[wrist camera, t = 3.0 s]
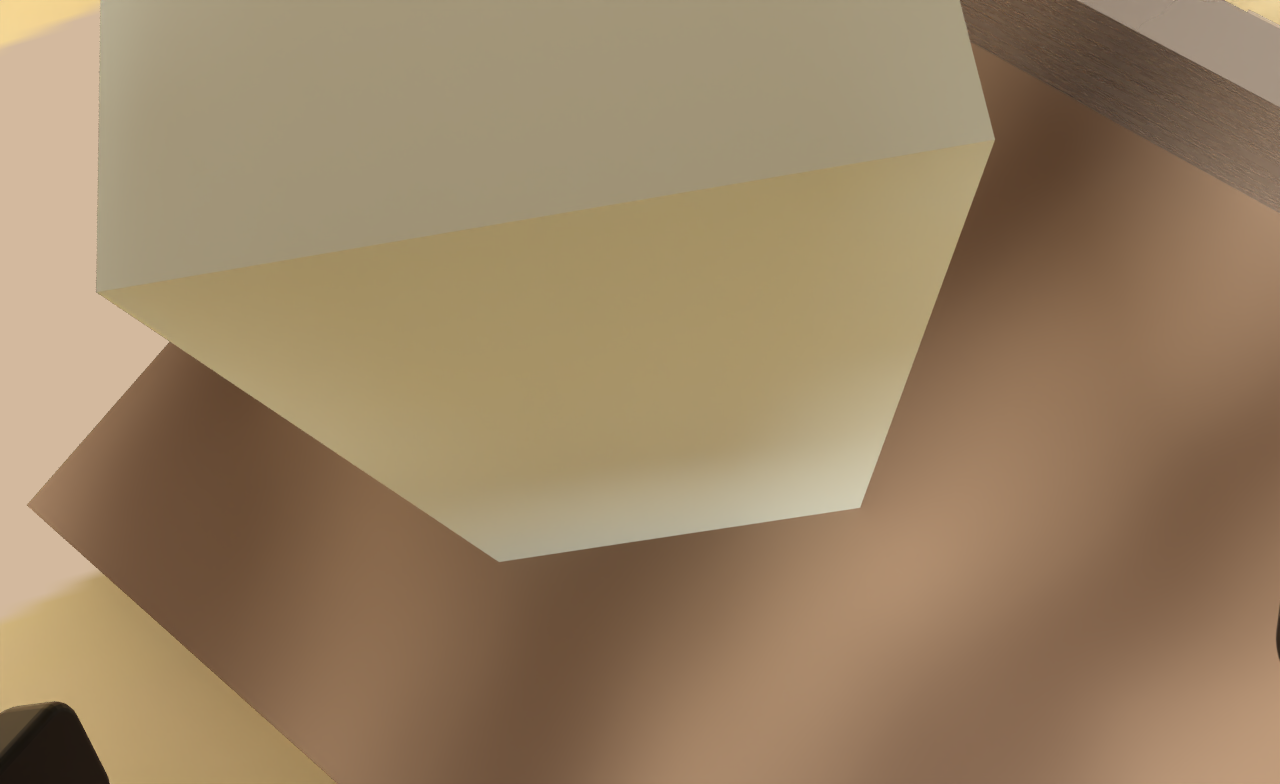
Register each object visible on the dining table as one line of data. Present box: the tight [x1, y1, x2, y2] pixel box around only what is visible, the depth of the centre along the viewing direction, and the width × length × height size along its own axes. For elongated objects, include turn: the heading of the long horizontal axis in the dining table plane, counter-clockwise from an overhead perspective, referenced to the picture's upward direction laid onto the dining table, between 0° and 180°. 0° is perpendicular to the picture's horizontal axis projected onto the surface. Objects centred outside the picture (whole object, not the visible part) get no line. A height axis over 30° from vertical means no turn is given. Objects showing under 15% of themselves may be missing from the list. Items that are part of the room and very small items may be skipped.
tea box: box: [96, 0, 995, 562], centre depth 14 cm, size 5×6×12 cm
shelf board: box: [27, 42, 1280, 784], centre depth 20 cm, size 20×18×2 cm
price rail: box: [960, 0, 1280, 213], centre depth 20 cm, size 19×2×2 cm, turn 53°
